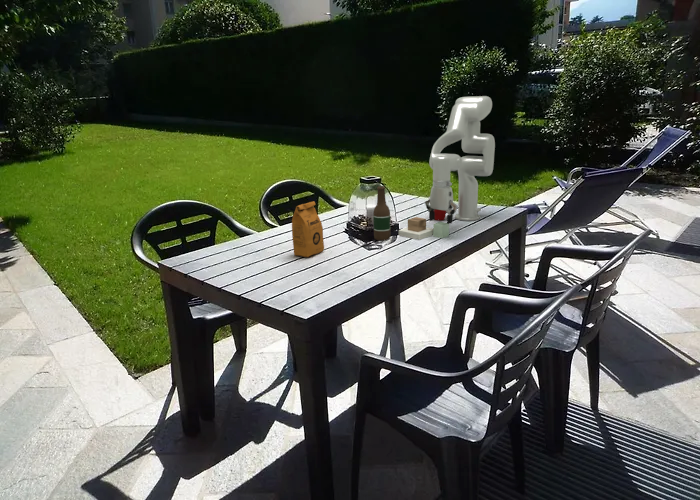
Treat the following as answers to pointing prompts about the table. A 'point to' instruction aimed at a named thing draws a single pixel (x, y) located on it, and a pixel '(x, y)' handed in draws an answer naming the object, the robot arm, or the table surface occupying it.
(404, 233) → the base slab
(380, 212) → the beer bottle
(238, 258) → the table surface
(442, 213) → the plastic cup
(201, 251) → the table surface
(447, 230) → the sage block
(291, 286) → the table surface
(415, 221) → the walnut block
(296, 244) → the coffee package
